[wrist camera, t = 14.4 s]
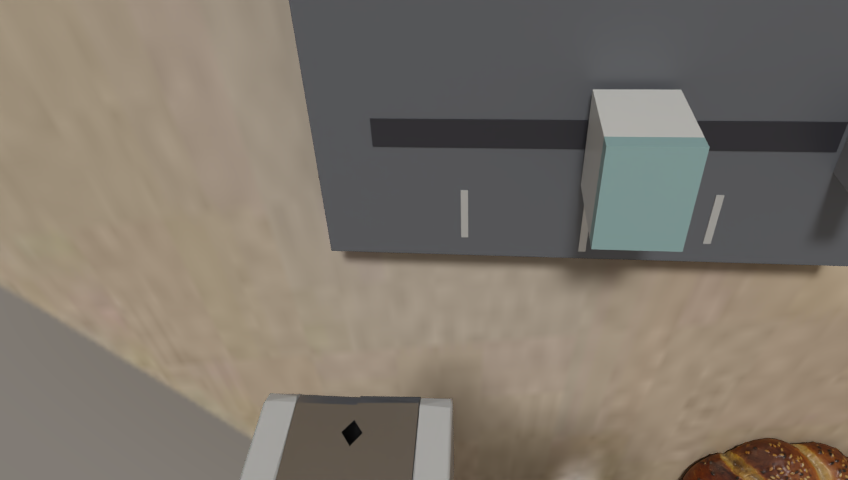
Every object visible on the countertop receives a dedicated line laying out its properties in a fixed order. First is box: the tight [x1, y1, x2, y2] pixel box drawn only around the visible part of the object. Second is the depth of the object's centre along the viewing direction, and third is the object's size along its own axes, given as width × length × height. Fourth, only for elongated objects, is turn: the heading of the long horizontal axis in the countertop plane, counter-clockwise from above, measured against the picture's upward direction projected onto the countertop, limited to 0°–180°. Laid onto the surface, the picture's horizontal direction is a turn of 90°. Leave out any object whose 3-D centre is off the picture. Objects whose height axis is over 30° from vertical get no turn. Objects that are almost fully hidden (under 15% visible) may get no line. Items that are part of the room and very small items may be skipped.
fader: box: [581, 89, 710, 252], centre depth 22 cm, size 3×4×4 cm
